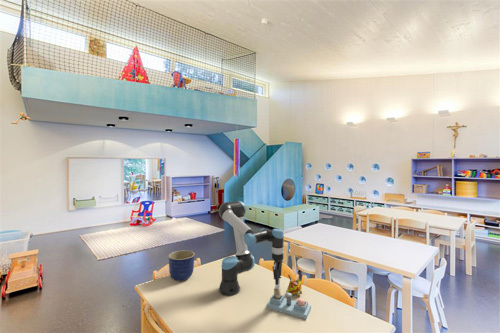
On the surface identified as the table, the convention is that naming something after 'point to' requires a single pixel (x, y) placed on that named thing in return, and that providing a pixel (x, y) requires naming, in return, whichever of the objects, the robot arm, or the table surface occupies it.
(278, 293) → the knob beech
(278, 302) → the mount board
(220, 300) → the table surface
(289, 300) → the dial post
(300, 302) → the knob coral
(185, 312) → the table surface
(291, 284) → the toy
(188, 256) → the planter
